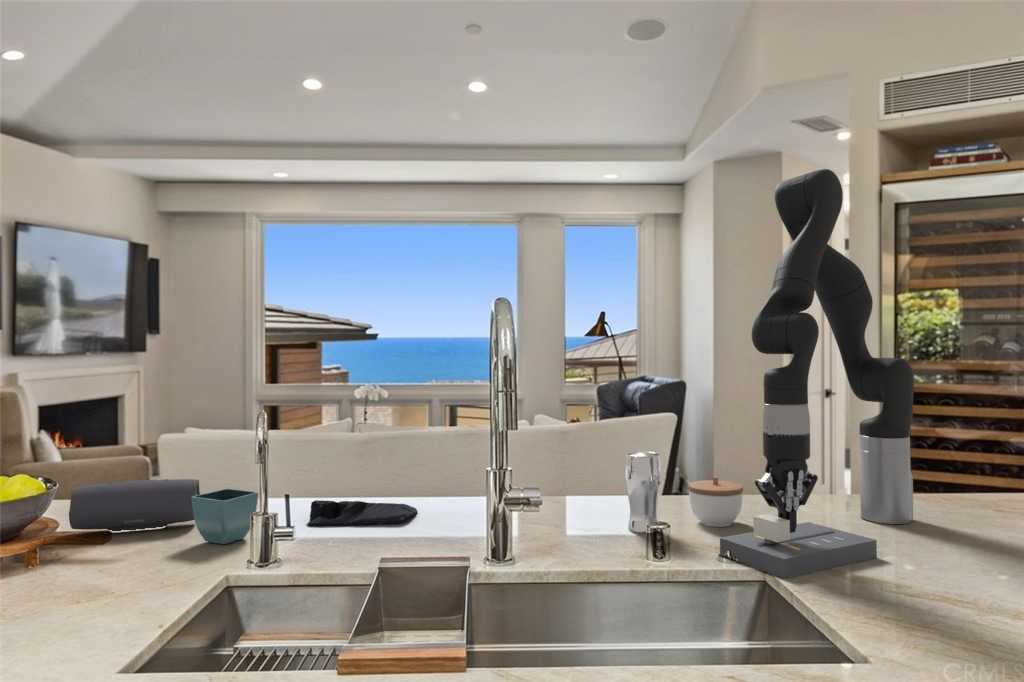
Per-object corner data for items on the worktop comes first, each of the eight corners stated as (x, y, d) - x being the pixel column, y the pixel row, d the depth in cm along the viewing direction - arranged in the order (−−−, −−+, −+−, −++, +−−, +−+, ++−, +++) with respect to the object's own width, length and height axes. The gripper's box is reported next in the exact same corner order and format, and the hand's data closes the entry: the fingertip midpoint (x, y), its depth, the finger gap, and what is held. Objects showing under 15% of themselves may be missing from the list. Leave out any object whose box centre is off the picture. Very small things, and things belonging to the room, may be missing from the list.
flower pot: (260, 537, 139) (259, 491, 139) (224, 549, 131) (224, 500, 131) (226, 532, 143) (226, 487, 143) (190, 544, 135) (189, 496, 135)
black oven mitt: (404, 530, 145) (404, 506, 145) (300, 528, 147) (299, 505, 147) (422, 512, 160) (422, 491, 160) (327, 511, 162) (327, 490, 162)
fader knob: (766, 537, 123) (766, 514, 123) (789, 544, 118) (789, 520, 118) (753, 539, 121) (753, 516, 121) (776, 547, 117) (776, 522, 117)
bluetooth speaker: (201, 519, 154) (200, 473, 154) (196, 530, 145) (195, 481, 145) (81, 529, 147) (80, 480, 147) (68, 541, 138) (67, 489, 138)
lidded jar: (685, 527, 143) (684, 480, 143) (692, 515, 153) (692, 471, 153) (741, 532, 139) (740, 483, 139) (745, 519, 149) (744, 474, 149)
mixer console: (808, 538, 134) (808, 521, 134) (876, 557, 121) (876, 539, 121) (720, 555, 124) (719, 537, 124) (784, 578, 111) (784, 558, 111)
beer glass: (661, 535, 137) (661, 457, 137) (625, 533, 138) (624, 456, 138) (661, 526, 144) (660, 451, 144) (626, 524, 145) (625, 450, 145)
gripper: (795, 425, 128) (797, 522, 128) (740, 430, 122) (742, 532, 122) (831, 429, 121) (832, 531, 121) (775, 435, 115) (776, 542, 115)
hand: (787, 531), depth 121 cm, fingers closed
